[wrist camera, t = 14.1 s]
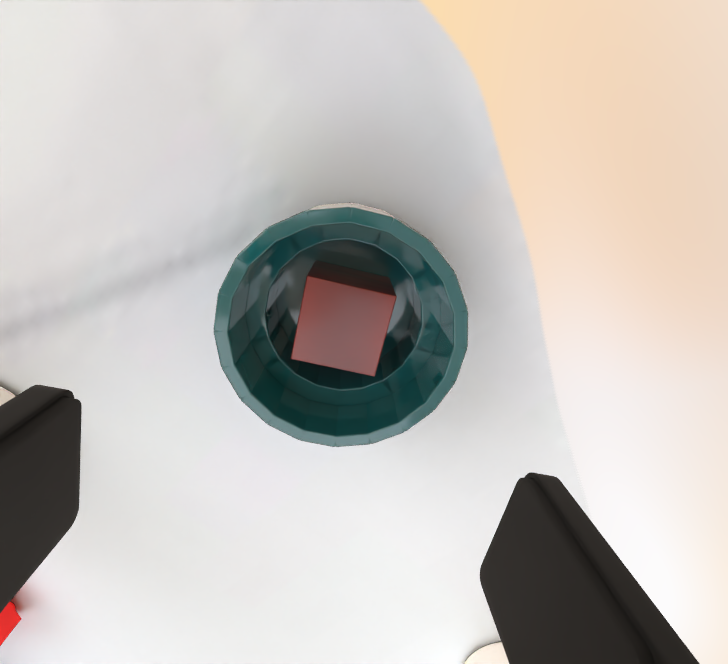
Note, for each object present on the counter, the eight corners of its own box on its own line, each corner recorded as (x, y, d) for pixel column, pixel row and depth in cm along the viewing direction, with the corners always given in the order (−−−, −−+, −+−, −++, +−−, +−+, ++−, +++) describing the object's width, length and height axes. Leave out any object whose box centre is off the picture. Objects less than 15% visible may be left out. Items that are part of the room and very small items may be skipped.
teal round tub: (238, 366, 23) (201, 422, 18) (266, 180, 20) (232, 176, 14) (410, 401, 24) (427, 465, 19) (464, 230, 21) (504, 244, 15)
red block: (301, 330, 22) (290, 359, 18) (315, 259, 21) (306, 275, 17) (371, 345, 23) (374, 377, 19) (389, 277, 21) (397, 296, 18)
